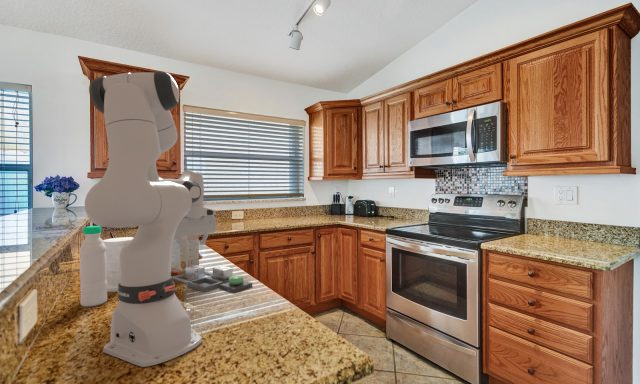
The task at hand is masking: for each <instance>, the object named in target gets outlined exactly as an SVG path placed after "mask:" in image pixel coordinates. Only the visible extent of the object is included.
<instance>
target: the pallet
mask: <svg viewBox="0 0 640 384" xmlns="http://www.w3.org/2000/svg"><path fill="white" fill-rule="evenodd" d="M188 281H189V280H188ZM227 282H229V280H225V281H221V280H218V279H214V278H213V275H207V276H205V277H204V278H200V279H196V280H192V279H191V280H190V281H189V282H187V284H186V285H187V286H186V287H189V288H192V289H195V290H197V291H201V292H204V293H205V292H209V291H212V290H215V289H220V284H223V283H227Z"/></svg>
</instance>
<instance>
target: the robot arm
mask: <svg viewBox="0 0 640 384" xmlns="http://www.w3.org/2000/svg"><path fill="white" fill-rule="evenodd" d="M88 93H89V96H90V100H91V102H92V104H93V106H94V107H95V109H96V110H97V111H98V112H99V113H101V114H103V115H104V116H103V117H104V119H103V120H104V125H105V131H106V132H105V133H106V139H107V140H106V141H107V146H108V147H107V148H108V164H107V167H106V170H105V172H104V174H103V175H102V178H100V180H98V182H97V183H95V184H94V185H93V186H92V187H91V188H90V189H89V190H88V192H87V194H86V196H85V199H84V210H85V213H86V216H87V217H88V219H89V220H90V221H91V222H92V223H93V224H94V225H95V226H100V227H106V228H116V229H117V228H121V229H123V228H129V227H137V226H138V228H137V230H136V233H135V235H134V236H133V237H134V238H133V239H132V240H131V241H130V242H129V243H128V244H126V245H125V246H124V247H123V249H122V250H121V252H120V283H119V284H118V291H117V299H118V300H119V301H118V303H117V306H116V307H115V308H114V309H113V310H112V312H111V321H110V336H109V337H110V340H109V342H108V343H106V344H105V345H104V346H103V350H102V351H103V353H104V354H108V355H110V356H111V357H115V358H117V359H121V360H122V361H125V362H128V363H129V364H133V365H136V366H138V367H140V368H141V367H142V368H146V367H151V366H155V365H158V364H162V363H165V362H167V361H171V360H173V359H176V358H178V357H179V356H180V357H181V356H182V355H184V354H186V353H188V352H190V351H192V350H194V349H195V348H196V347H198V346H199V345H200V344H201V343H202V342H203V338H202V336H201V335H200V334H199V333H198V332H197V331H196V329H194V328H193V327H192V324H191V318H192V310H191V309H190V308H186V309H185V307H184V305H183V302H182V301H180V300H179V298H178V297H177V295H176V288H175V287H176V285H175V281H174V279H173V278H172V277H173V276H172V272H171V247H172V242H173V238H175V240H176V242H177V243H178V248H179V249H181V248H184V244H183V243H181V241H180V240H181V237H185V236H192V235H199V236H200V235H202V236H203V237H202V239H199V246H204V245H206V243H207V242H206V241H207V239H208V238H209V234H212V233H214V234H215V232H216V231H217V217H216V216H215V215H216V210H215V209H212V208H208V207H205V202H204V196H205V187H204V186H205V184H204V178H203V174H202V173H200V172H199V171H195V170H184V171H182V173H181V176H180V177H178V178H177V179H176V178H174V179H170V178H165V179H164V178H162V177H160V176H159V173H158V167H157V164H156V162H157V161H158V160H159V159H160V156H161V154H164V153H166V152H167V151H169V150H170V149H172V148H173V147H174V146H175V144H176V143H177V141H178V136H179V134H178V130H177V126H176V123H175V120H174V117H173V114H172V112H171V110H172V109H174V108H176V107H177V106H178V104H179V102H180V100H179V99H180V89H179V86H178V84H177V82H176V80H175V79H174V77H173V76H172V75H171V74H170V73H168V72H165V71H159V70H158V71H154V72H142V71H141V72H123V73H116V74H112V75H108V76H106V75H102V76H99V77H97V78H96V77H95V78H94V79H93V80H92V81H91V82H90V84H89V86H88Z"/></svg>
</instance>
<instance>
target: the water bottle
mask: <svg viewBox="0 0 640 384" xmlns="http://www.w3.org/2000/svg"><path fill="white" fill-rule="evenodd" d="M82 232H83V236H84V240H83V241H82V244H80V247H79V250H78V252H79V278H80V285H79V291H80V298H79V299H80V301H79V302H80V306H82V307H83V308H84V307H85V308H89V307H95V306H99V305H103V304H105V302H107V301H108V292H107V290H106V289H107V281H106V271H107V267H106V253H105V251H106V246H105V244H104V243H103V240H104V239H103V238H101V234H102V232H103V231H102V226H98V225H91V226H89V225H88V226H85V227H84V228H83V229H82Z"/></svg>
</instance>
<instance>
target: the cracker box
mask: <svg viewBox="0 0 640 384" xmlns="http://www.w3.org/2000/svg"><path fill="white" fill-rule="evenodd" d="M199 236H200V234H199V235H192V236H185V237H181V240H180V241H181V243H183V244H184V248H181V249H179V248H178V243H177V242H176V240H175V238H173V242H172V247H171V274H172V273H173V274H177V275H181V274H185V273H186V266H191V265H198V266H200V237H199Z"/></svg>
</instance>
